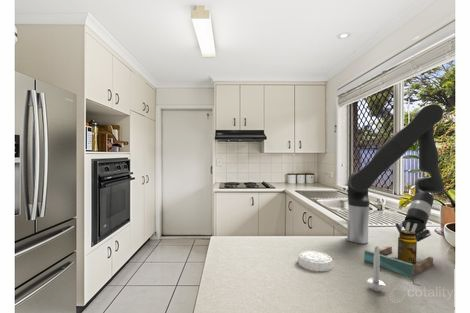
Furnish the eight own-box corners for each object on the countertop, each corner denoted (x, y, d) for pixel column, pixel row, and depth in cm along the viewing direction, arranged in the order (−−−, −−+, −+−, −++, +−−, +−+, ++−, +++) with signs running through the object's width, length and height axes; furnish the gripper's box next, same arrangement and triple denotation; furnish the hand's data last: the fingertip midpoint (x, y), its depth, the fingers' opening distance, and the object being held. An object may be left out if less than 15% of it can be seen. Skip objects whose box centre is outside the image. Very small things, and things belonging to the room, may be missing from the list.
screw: (388, 293, 77) (371, 293, 77) (379, 285, 82) (363, 285, 82) (389, 249, 77) (373, 248, 77) (380, 243, 82) (365, 243, 82)
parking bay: (388, 251, 114) (389, 242, 114) (433, 264, 101) (433, 253, 101) (364, 261, 101) (364, 250, 101) (411, 277, 88) (411, 265, 89)
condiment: (420, 267, 97) (421, 235, 97) (393, 264, 99) (394, 232, 100) (413, 260, 104) (414, 230, 104) (389, 257, 106) (390, 227, 106)
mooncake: (313, 274, 89) (313, 263, 89) (291, 261, 100) (291, 251, 100) (339, 269, 94) (340, 259, 94) (316, 257, 105) (316, 248, 105)
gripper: (398, 205, 116) (385, 237, 108) (435, 210, 105) (422, 246, 98) (403, 215, 119) (390, 247, 111) (439, 222, 108) (427, 257, 101)
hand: (405, 247), depth 105 cm, fingers closed
